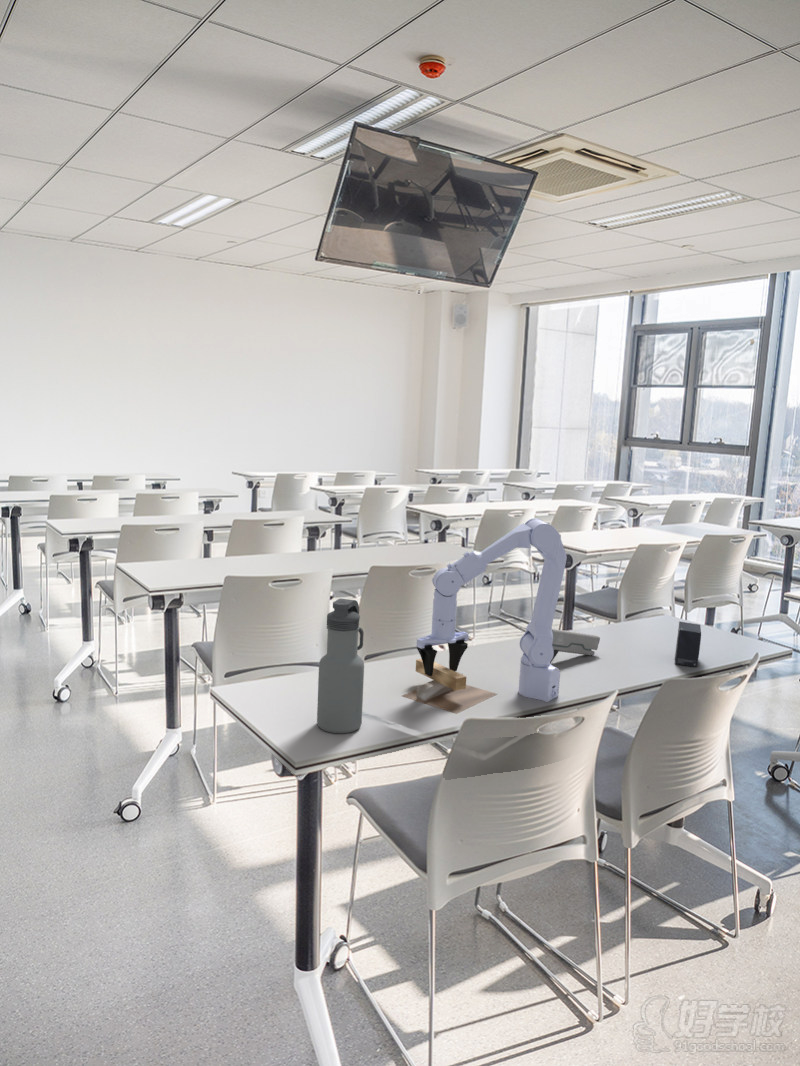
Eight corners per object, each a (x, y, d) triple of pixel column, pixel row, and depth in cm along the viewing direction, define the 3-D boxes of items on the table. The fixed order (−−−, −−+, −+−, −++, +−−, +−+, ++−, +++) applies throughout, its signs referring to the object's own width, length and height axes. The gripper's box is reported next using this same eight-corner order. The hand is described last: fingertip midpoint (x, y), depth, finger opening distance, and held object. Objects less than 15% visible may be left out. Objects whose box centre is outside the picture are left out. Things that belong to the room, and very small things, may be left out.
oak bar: (415, 671, 204) (416, 659, 204) (424, 669, 206) (425, 657, 205) (455, 690, 191) (456, 678, 191) (465, 688, 193) (466, 676, 192)
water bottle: (327, 713, 184) (331, 593, 179) (368, 720, 181) (373, 598, 177) (309, 730, 174) (314, 603, 170) (352, 737, 171) (357, 608, 167)
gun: (529, 661, 226) (537, 626, 226) (587, 667, 241) (595, 635, 241) (535, 663, 224) (544, 628, 224) (593, 670, 239) (601, 637, 239)
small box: (698, 668, 232) (702, 632, 230) (674, 664, 234) (678, 629, 232) (697, 657, 242) (701, 623, 240) (674, 654, 244) (678, 620, 242)
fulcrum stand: (497, 697, 199) (498, 682, 199) (456, 717, 185) (457, 700, 185) (443, 682, 209) (444, 667, 208) (401, 699, 195) (401, 683, 194)
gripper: (430, 626, 188) (427, 682, 191) (477, 619, 197) (474, 672, 199) (412, 618, 194) (409, 673, 196) (459, 612, 203) (456, 664, 205)
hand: (440, 672), depth 198 cm, fingers open, 7 cm apart
